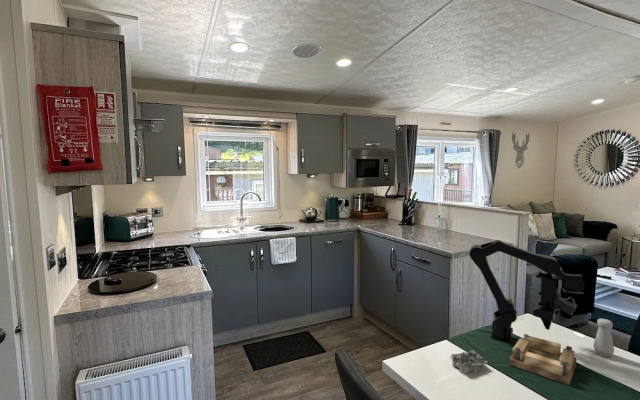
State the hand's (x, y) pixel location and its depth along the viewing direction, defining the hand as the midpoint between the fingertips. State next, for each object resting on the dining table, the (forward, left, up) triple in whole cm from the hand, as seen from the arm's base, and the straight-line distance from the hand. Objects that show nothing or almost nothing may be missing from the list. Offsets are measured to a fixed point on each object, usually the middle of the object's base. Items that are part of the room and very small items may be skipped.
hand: (547, 329), depth 127 cm
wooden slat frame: (+1, -16, -7) cm, 17 cm away
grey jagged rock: (-17, -35, -7) cm, 39 cm away
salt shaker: (+16, +6, -7) cm, 19 cm away
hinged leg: (0, -9, -4) cm, 10 cm away
